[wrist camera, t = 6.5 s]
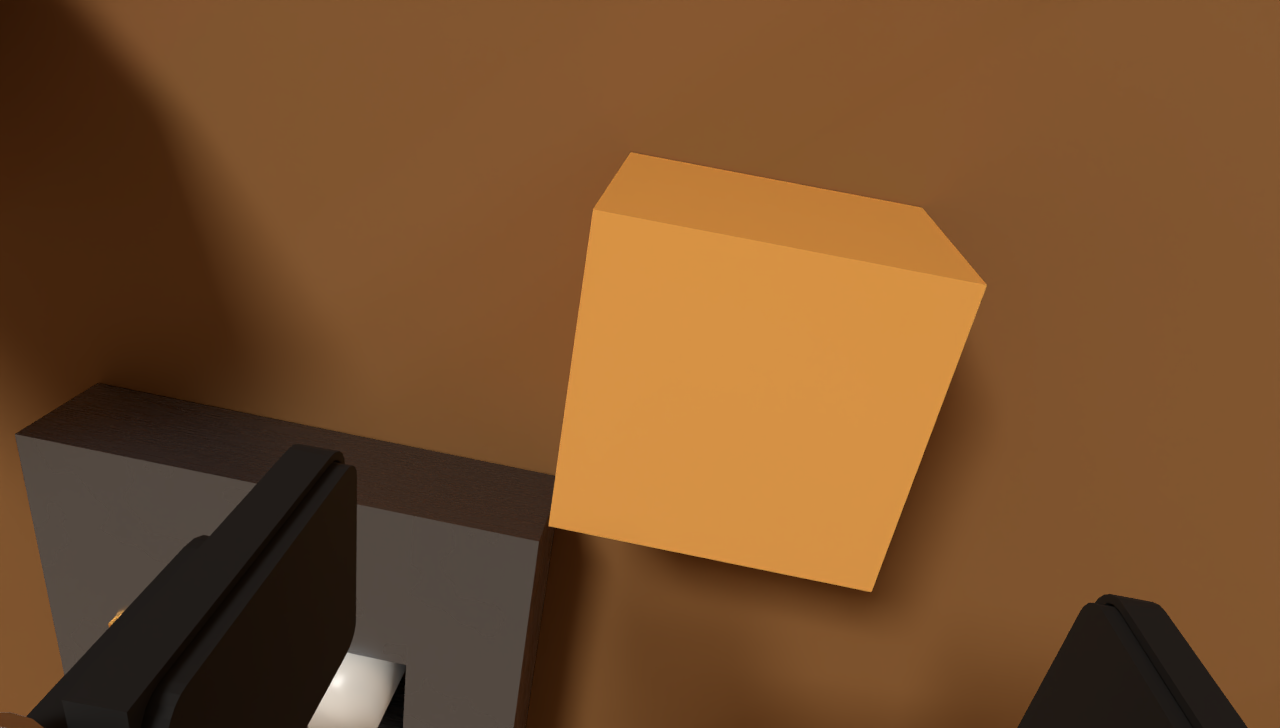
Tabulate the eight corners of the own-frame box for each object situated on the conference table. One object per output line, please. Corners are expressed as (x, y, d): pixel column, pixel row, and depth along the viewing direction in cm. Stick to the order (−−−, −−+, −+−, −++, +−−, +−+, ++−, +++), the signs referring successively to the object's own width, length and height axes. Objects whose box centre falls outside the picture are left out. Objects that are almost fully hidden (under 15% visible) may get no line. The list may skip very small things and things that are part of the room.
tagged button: (421, 608, 26) (378, 693, 23) (418, 663, 27) (377, 751, 24) (348, 593, 26) (296, 675, 23) (348, 648, 27) (298, 733, 24)
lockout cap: (921, 207, 19) (987, 284, 14) (841, 456, 22) (871, 592, 17) (630, 152, 19) (592, 209, 14) (590, 406, 22) (548, 525, 17)
